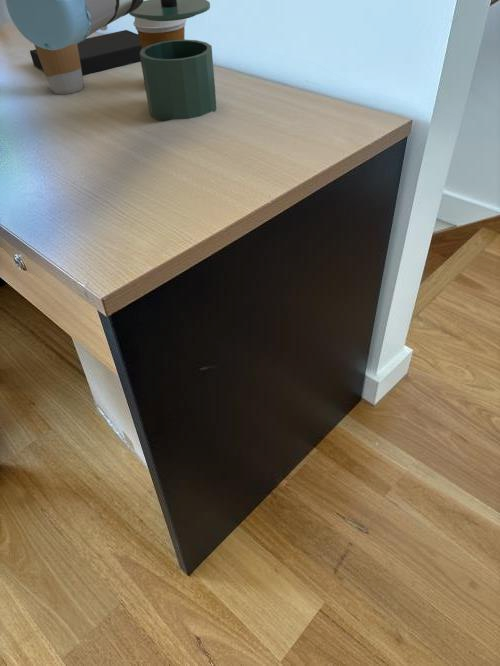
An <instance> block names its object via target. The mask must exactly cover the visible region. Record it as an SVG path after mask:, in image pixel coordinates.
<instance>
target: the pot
mask: <svg viewBox="0 0 500 666" xmlns="http://www.w3.org/2000/svg"><path fill="white" fill-rule="evenodd" d="M140 60H141V61H140V64H141V71H142V77H143V82H144V88H145V94H146V100H147V101H146V102H147V106H148V107H147V108H148V111H149V113H150V116H151V117H152V118H153V119H155V120H157V121H161V122H168V121H173V120H175V121H176V120H189V119H193V118H198V117H203V116H205V115H207V114H209V113H211V112H213V113H215V112H216V110H217V95H216V83H215V82H216V81H215V71H214V69H215V68H214V58H213V47H212V45H211V44H209V43H208V42H205V41H203V40H197V39H185V40H170V41H164V42H158V43H155V44H151V45H148V46H146V47H145V48H143V49H141V51H140Z"/></svg>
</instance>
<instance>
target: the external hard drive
mask: <svg viewBox="0 0 500 666" xmlns="http://www.w3.org/2000/svg"><path fill="white" fill-rule="evenodd" d="M77 46H78V52H79V58H80V63H81V71H82V76H84V75H89V74H93V73H97V72H101V71H105V70H109V69H113V68H117V67H121V66H125V65H130V64H135V63H137V62H141V60H140V51H141V49H142V46H141V43H140V39H139V35H138V33H136V32H134V31H132V30H129V29H124V30H120V31H115V32H111V33H110V32H109V33H105V34H100V35H96V36H91V37H87V38H85V40H84V41H81V42H80V43H78V44H77ZM29 54H30V57H31V61H32V64H33V66H34V67H36V68H37V69H39V70H40V71H42V72H43V73H44V70H43V68H42V65H41V62H40V59H39V56H38V54H37V51H36V48H35V49H31V50H29Z"/></svg>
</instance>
